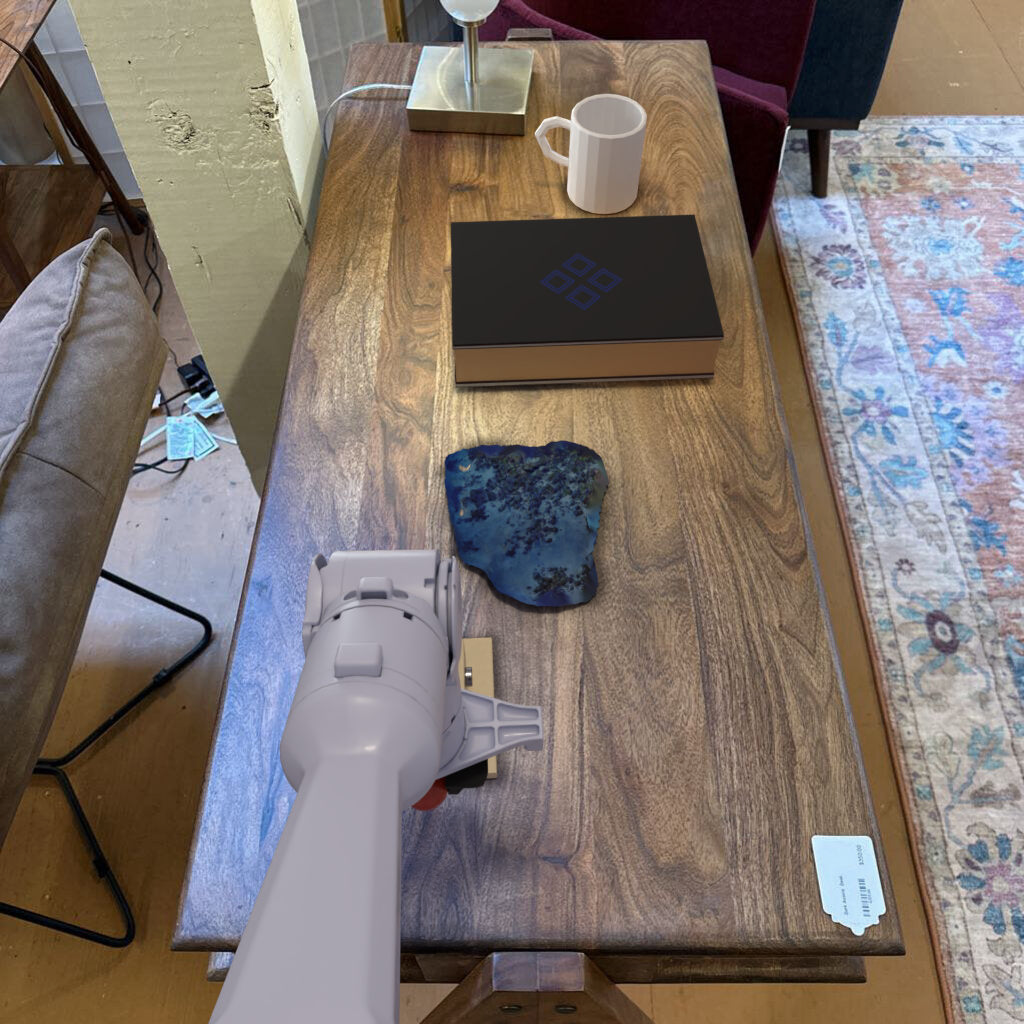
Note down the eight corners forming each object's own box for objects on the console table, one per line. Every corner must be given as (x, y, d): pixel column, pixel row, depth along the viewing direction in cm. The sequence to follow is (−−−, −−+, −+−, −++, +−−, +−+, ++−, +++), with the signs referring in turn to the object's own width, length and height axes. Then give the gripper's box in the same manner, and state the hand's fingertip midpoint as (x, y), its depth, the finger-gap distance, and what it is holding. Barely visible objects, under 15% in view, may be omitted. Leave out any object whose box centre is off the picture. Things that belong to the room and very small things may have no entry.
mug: (538, 165, 110) (540, 87, 102) (639, 174, 109) (649, 96, 101) (529, 208, 105) (530, 130, 97) (634, 217, 104) (644, 139, 96)
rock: (607, 451, 85) (609, 438, 84) (604, 617, 76) (605, 605, 74) (449, 444, 86) (448, 431, 85) (427, 607, 77) (424, 595, 75)
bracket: (497, 778, 68) (495, 740, 62) (375, 783, 68) (360, 746, 62) (492, 643, 74) (490, 596, 68) (380, 648, 74) (367, 601, 68)
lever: (449, 820, 57) (446, 786, 56) (401, 822, 57) (397, 789, 56) (452, 680, 68) (450, 648, 67) (412, 681, 68) (409, 650, 67)
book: (454, 272, 99) (450, 221, 94) (684, 264, 100) (694, 213, 94) (455, 393, 90) (452, 344, 84) (711, 384, 90) (724, 335, 85)
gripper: (540, 622, 51) (535, 716, 62) (276, 633, 51) (319, 726, 62) (548, 746, 47) (542, 822, 58) (262, 759, 47) (311, 833, 58)
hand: (427, 780), depth 60 cm, fingers closed on lever, 3 cm apart
